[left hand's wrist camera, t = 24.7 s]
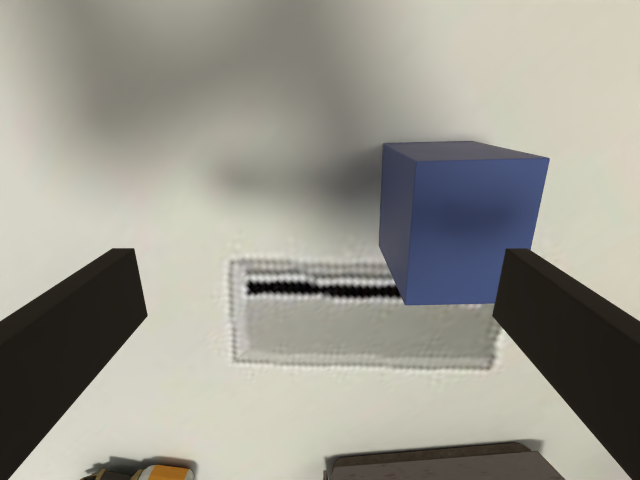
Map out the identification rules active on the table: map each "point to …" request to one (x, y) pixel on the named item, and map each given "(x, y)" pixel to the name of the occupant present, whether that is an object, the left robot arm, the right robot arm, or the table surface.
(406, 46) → the table surface
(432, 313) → the table surface
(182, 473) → the spray gun
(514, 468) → the toy
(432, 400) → the table surface
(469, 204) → the brick
